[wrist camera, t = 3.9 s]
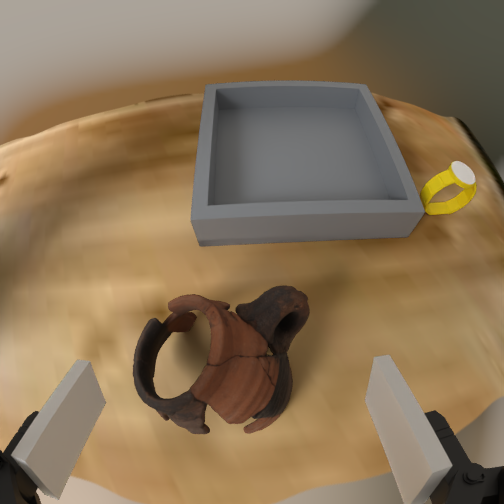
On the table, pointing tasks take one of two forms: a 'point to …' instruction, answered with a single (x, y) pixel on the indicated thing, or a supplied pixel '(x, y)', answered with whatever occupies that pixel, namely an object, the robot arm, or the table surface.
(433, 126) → the table surface
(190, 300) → the broken clay jug
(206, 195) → the tray
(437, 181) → the watch
